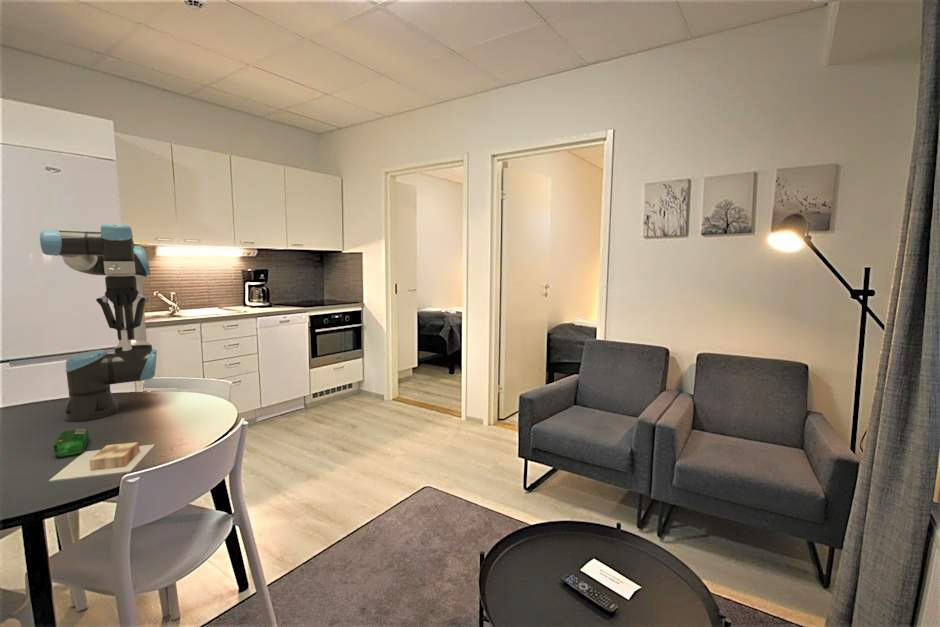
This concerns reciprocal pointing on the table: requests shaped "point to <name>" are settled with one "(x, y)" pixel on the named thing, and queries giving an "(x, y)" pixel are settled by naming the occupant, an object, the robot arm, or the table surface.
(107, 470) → the cream board
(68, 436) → the snack package
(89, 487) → the table surface
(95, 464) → the oak slab
